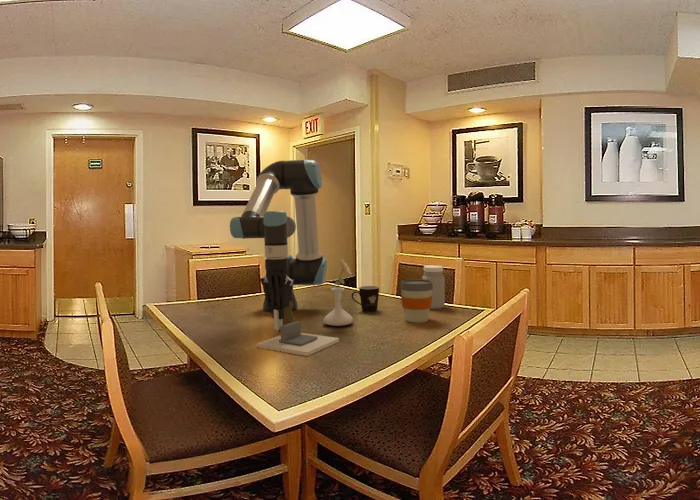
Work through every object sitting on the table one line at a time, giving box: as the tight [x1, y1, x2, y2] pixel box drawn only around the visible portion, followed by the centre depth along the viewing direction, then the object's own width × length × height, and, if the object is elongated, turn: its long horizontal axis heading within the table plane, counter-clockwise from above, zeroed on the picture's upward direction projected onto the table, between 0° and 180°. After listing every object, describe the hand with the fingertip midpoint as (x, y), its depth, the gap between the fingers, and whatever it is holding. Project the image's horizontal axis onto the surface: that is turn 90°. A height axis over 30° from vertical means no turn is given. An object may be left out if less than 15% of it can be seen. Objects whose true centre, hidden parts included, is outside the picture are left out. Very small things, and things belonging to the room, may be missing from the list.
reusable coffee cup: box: [400, 278, 433, 323], centre depth 195 cm, size 13×13×15 cm
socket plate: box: [255, 332, 340, 357], centre depth 164 cm, size 20×18×1 cm
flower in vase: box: [323, 258, 354, 327], centre depth 190 cm, size 13×11×25 cm
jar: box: [421, 264, 446, 310], centre depth 218 cm, size 10×10×18 cm
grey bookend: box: [279, 320, 318, 345], centre depth 163 cm, size 9×9×5 cm
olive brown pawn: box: [277, 301, 295, 333], centre depth 182 cm, size 6×6×11 cm
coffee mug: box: [351, 285, 380, 313], centre depth 214 cm, size 12×9×10 cm
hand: (278, 328), depth 167 cm, fingers closed
